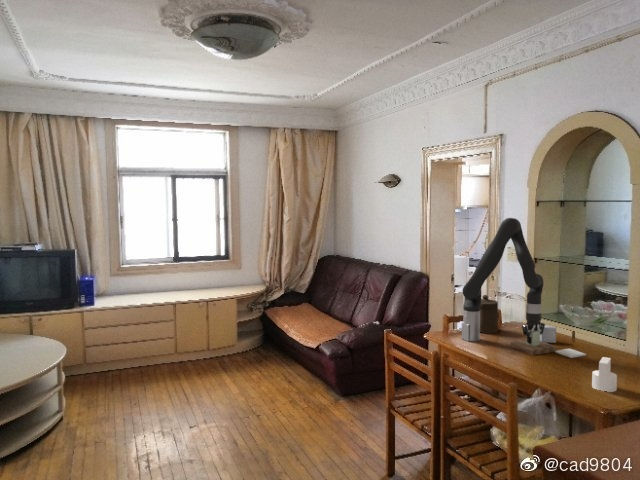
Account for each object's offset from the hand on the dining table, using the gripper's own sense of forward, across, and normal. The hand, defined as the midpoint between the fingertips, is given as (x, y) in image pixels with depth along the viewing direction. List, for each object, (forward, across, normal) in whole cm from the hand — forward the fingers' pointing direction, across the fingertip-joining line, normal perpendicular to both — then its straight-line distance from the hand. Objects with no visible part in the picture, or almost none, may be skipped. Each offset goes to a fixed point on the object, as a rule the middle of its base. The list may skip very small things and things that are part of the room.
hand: (533, 342), depth 256 cm
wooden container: (+4, -1, -40) cm, 40 cm away
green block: (+3, 0, 0) cm, 3 cm away
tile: (+3, -11, +14) cm, 18 cm away
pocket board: (+3, 0, 0) cm, 3 cm away
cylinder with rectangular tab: (+4, +13, +53) cm, 55 cm away
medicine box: (+4, -17, -7) cm, 19 cm away
